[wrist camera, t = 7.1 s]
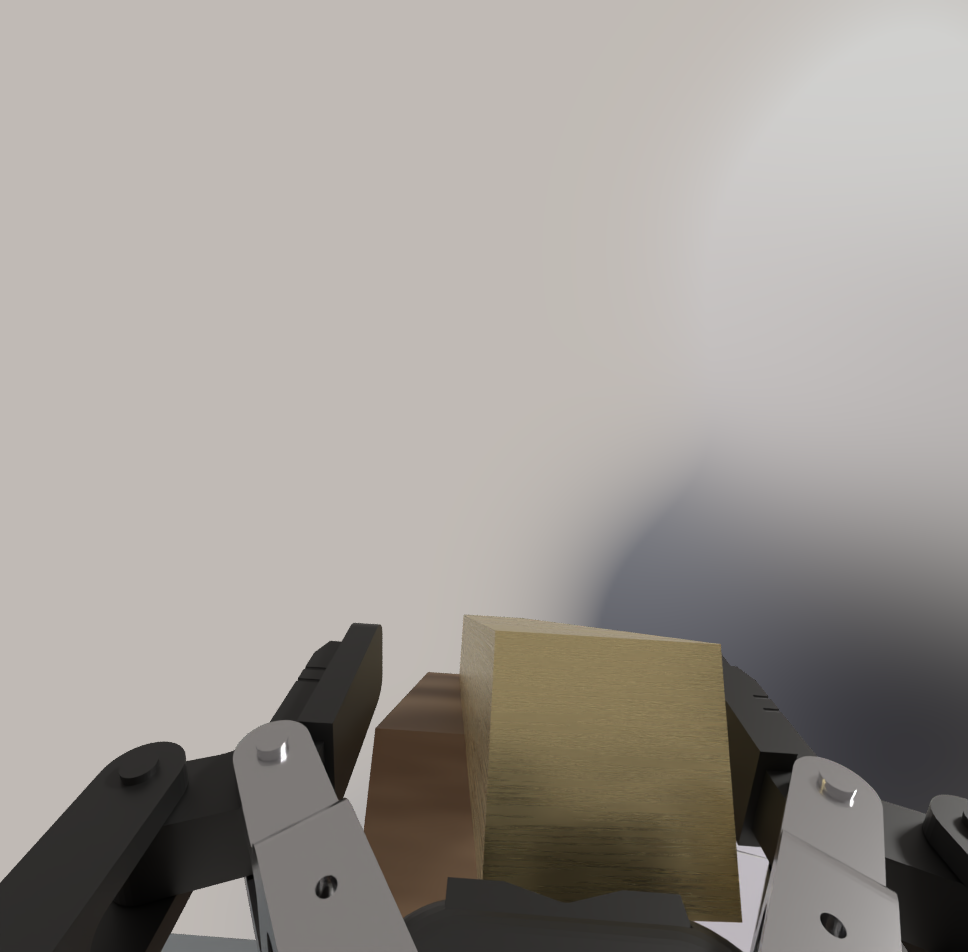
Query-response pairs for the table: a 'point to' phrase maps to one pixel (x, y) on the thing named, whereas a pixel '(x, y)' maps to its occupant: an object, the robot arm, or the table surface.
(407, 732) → the stand
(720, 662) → the bar
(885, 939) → the robot arm
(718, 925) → the game console
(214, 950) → the block
